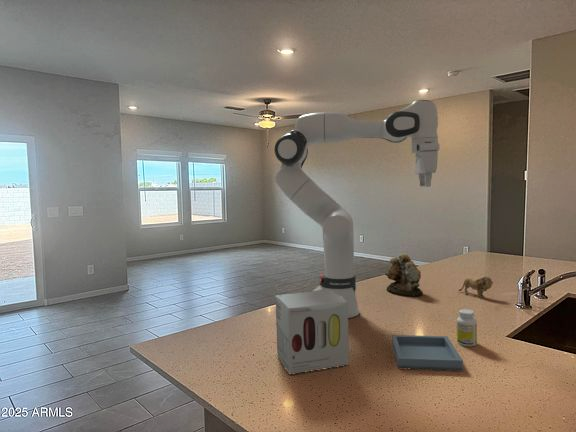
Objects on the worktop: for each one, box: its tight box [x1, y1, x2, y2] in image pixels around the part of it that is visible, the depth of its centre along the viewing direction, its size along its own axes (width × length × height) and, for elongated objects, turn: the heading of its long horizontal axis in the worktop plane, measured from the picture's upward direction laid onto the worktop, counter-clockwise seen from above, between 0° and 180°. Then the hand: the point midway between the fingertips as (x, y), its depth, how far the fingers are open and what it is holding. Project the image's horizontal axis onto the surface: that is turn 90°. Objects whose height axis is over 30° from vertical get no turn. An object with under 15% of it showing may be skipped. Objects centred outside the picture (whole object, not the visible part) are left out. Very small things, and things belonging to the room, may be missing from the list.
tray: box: [391, 334, 464, 372], centre depth 109 cm, size 16×16×3 cm
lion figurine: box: [458, 276, 494, 299], centre depth 163 cm, size 15×5×9 cm, turn 33°
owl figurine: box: [384, 253, 424, 298], centre depth 172 cm, size 18×12×17 cm, turn 39°
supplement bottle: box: [456, 308, 478, 347], centre depth 116 cm, size 5×5×10 cm
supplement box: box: [275, 289, 350, 375], centre depth 108 cm, size 17×13×18 cm
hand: (425, 186), depth 138 cm, fingers open, 8 cm apart
